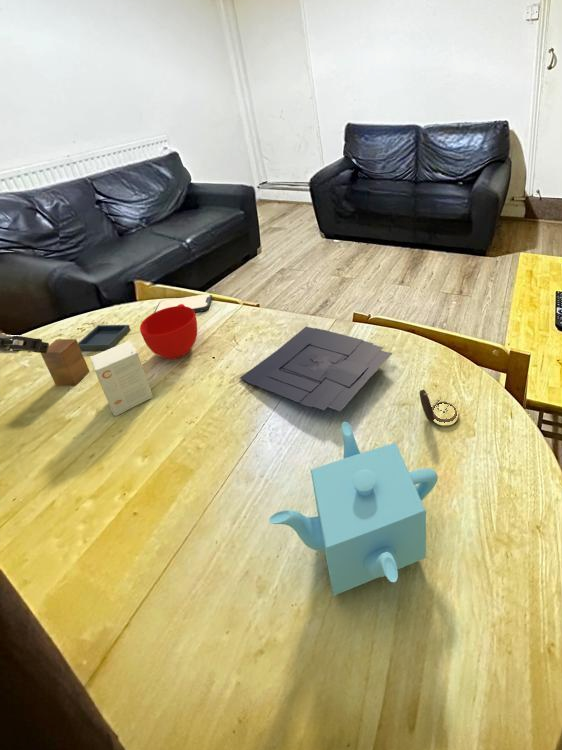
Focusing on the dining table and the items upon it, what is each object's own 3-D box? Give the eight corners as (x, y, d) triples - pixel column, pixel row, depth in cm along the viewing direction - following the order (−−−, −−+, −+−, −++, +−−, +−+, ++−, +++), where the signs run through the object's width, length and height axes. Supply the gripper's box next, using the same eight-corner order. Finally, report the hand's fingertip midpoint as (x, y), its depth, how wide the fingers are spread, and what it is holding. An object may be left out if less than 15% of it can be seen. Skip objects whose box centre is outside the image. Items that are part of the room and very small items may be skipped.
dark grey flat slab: (337, 428, 83) (333, 414, 82) (241, 388, 99) (237, 375, 98) (397, 358, 102) (395, 346, 101) (308, 334, 118) (306, 323, 117)
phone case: (153, 320, 124) (208, 311, 127) (151, 316, 123) (207, 306, 126) (161, 304, 132) (213, 296, 135) (159, 300, 131) (212, 292, 134)
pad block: (55, 385, 100) (40, 352, 95) (70, 371, 104) (56, 339, 100) (75, 385, 99) (60, 352, 95) (89, 371, 104) (76, 339, 100)
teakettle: (443, 513, 68) (445, 450, 62) (397, 647, 53) (394, 580, 47) (345, 470, 76) (339, 411, 70) (280, 576, 61) (265, 512, 55)
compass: (464, 423, 85) (465, 396, 82) (427, 432, 83) (427, 405, 80) (448, 395, 92) (449, 369, 89) (415, 403, 90) (414, 377, 87)
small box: (145, 383, 99) (130, 339, 94) (153, 397, 95) (138, 352, 89) (107, 402, 94) (88, 356, 89) (114, 417, 90) (94, 370, 84)
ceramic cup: (212, 325, 120) (204, 296, 116) (195, 364, 105) (186, 332, 101) (165, 330, 119) (156, 300, 115) (142, 370, 103) (130, 338, 99)
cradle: (77, 351, 111) (75, 345, 111) (100, 330, 120) (98, 325, 119) (110, 350, 111) (108, 345, 110) (130, 330, 119) (128, 324, 119)
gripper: (-5, 317, 76) (64, 330, 91) (-78, 318, 76) (2, 331, 91) (-19, 359, 73) (54, 366, 88) (-95, 360, 74) (-10, 366, 89)
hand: (27, 348), depth 90 cm, fingers open, 8 cm apart
